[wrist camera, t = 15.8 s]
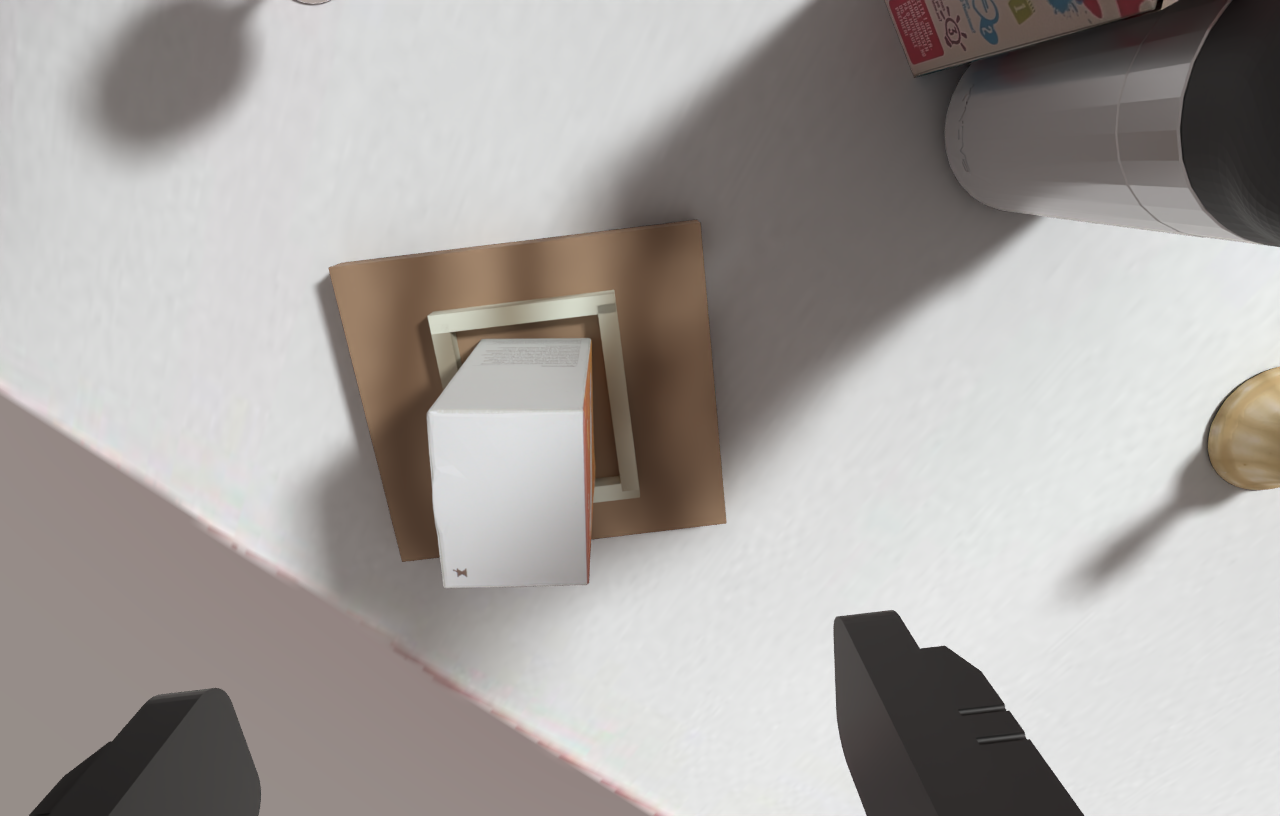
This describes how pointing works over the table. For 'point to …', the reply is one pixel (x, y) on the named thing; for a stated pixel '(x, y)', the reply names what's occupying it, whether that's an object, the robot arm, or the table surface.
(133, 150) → the table surface
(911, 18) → the juice carton
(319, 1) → the wineglass
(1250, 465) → the hand bell
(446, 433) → the small box
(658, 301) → the base board
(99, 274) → the table surface
